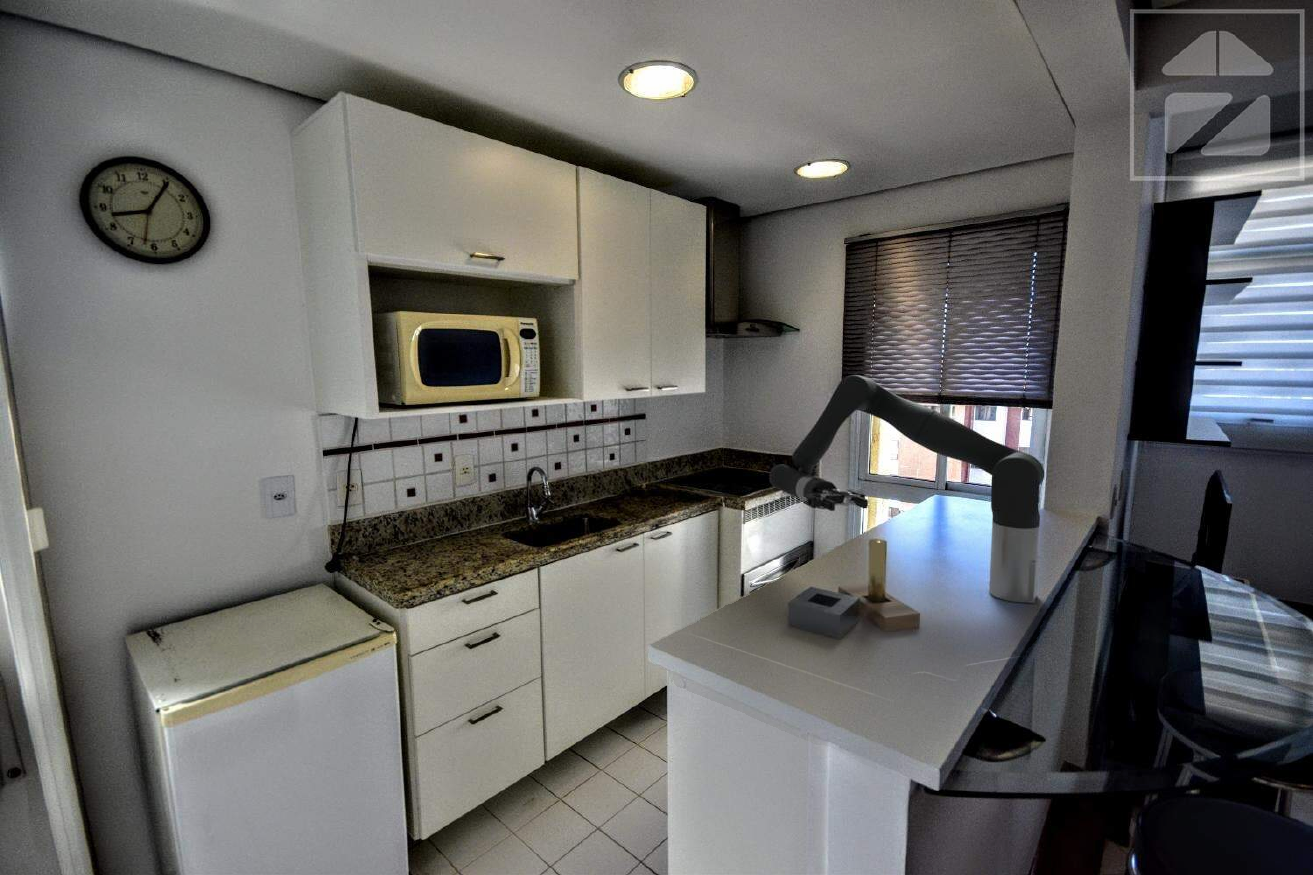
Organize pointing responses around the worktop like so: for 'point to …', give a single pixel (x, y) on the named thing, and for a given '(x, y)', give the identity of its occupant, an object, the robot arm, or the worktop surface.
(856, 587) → the beam
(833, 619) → the seat block
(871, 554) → the axle
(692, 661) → the worktop surface
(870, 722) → the worktop surface
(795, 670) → the worktop surface
